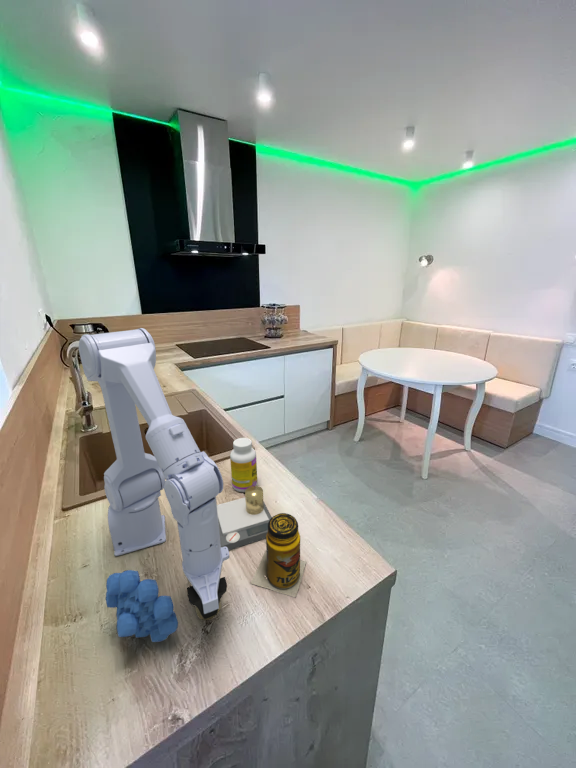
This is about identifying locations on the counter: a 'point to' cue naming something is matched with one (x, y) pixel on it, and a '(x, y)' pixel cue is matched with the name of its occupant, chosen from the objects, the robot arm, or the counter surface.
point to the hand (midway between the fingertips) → (208, 601)
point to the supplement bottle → (243, 464)
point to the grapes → (140, 607)
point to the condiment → (281, 557)
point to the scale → (241, 524)
